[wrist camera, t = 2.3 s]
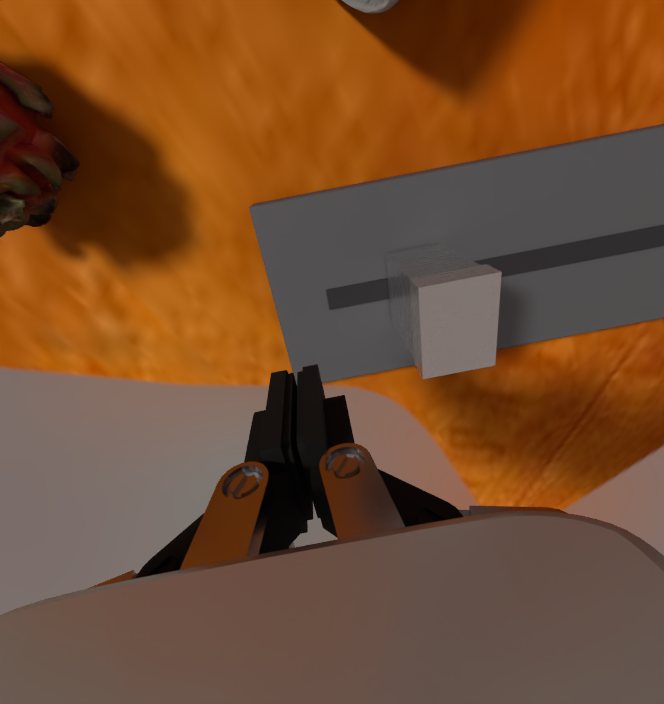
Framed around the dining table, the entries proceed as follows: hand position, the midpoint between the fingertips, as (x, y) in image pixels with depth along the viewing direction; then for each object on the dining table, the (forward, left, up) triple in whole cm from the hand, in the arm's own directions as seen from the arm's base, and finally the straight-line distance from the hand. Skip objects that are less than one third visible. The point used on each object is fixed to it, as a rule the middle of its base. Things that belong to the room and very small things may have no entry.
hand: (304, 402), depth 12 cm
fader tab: (-1, +7, -8) cm, 11 cm away
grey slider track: (-1, +17, -11) cm, 20 cm away
